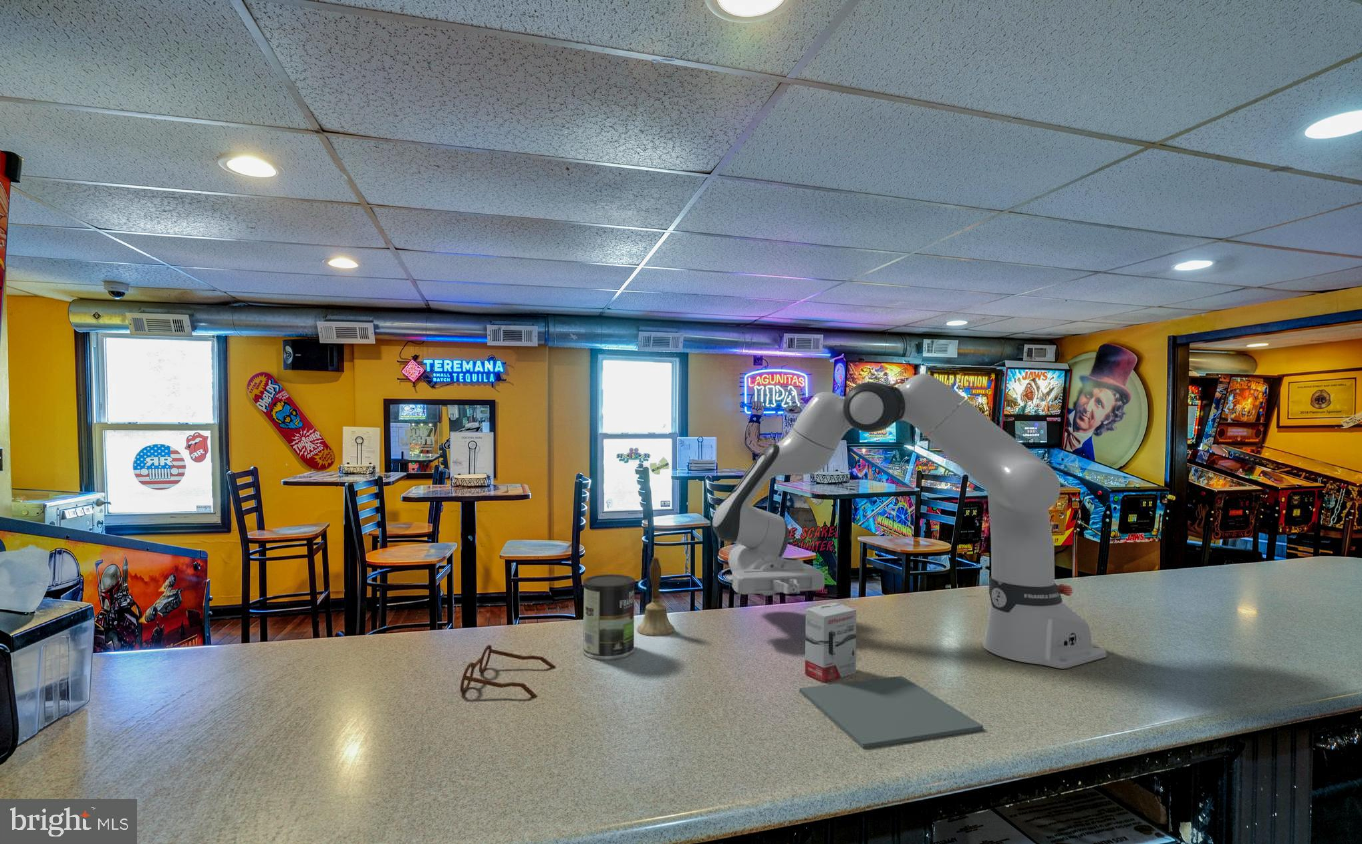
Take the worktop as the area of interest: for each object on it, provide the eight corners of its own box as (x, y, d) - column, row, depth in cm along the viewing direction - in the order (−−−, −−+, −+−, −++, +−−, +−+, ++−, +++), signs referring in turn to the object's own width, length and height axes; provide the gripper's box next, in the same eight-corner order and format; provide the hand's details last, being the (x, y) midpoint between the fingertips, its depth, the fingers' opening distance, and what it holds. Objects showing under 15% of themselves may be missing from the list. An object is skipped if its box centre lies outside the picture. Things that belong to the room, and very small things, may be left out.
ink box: (824, 683, 104) (824, 615, 104) (803, 674, 108) (803, 608, 108) (857, 673, 109) (857, 607, 109) (836, 664, 113) (836, 601, 113)
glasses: (486, 668, 111) (486, 641, 112) (556, 669, 111) (556, 642, 111) (458, 699, 98) (458, 668, 98) (537, 700, 98) (537, 669, 98)
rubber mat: (902, 679, 106) (902, 675, 106) (983, 730, 88) (983, 725, 88) (799, 691, 101) (799, 688, 101) (863, 748, 82) (862, 744, 82)
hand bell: (666, 638, 127) (666, 562, 128) (630, 633, 130) (631, 559, 130) (679, 626, 135) (680, 555, 135) (646, 622, 138) (646, 552, 138)
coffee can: (642, 645, 123) (642, 576, 123) (621, 663, 113) (622, 588, 113) (597, 639, 126) (597, 572, 127) (573, 656, 116) (573, 583, 117)
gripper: (723, 562, 133) (746, 576, 120) (806, 558, 139) (837, 572, 125) (722, 590, 133) (745, 608, 120) (806, 585, 139) (837, 602, 125)
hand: (793, 589), depth 123 cm, fingers closed
